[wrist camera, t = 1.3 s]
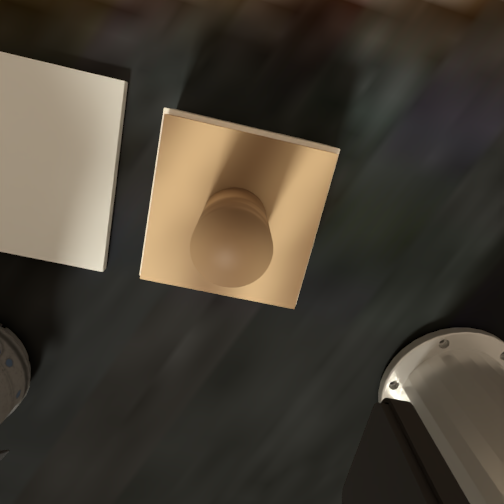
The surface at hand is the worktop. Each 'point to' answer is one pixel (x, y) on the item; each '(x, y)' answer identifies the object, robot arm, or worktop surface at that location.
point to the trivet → (58, 161)
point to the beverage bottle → (12, 374)
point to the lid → (234, 211)
